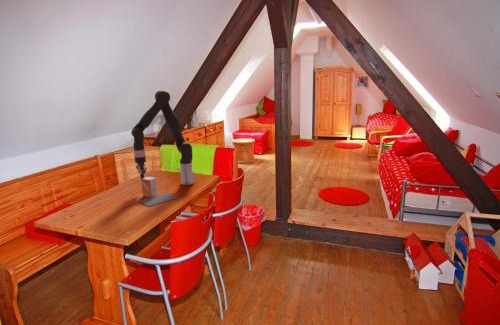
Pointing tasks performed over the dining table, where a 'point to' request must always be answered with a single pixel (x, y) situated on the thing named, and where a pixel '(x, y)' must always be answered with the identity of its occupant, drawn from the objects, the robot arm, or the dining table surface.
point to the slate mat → (158, 199)
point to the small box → (149, 186)
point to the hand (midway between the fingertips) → (142, 178)
